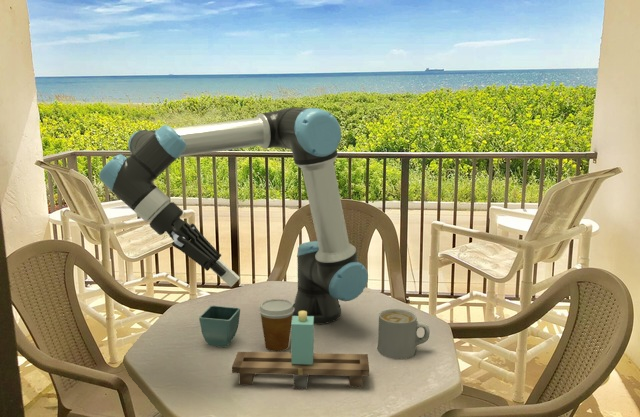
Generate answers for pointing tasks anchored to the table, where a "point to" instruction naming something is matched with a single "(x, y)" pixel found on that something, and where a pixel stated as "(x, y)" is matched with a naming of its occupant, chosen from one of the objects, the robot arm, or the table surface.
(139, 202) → the robot arm
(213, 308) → the flower pot
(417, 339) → the coffee mug
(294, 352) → the block
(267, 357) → the brown flat slatted piece
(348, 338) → the table surface
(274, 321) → the disposable coffee cup
